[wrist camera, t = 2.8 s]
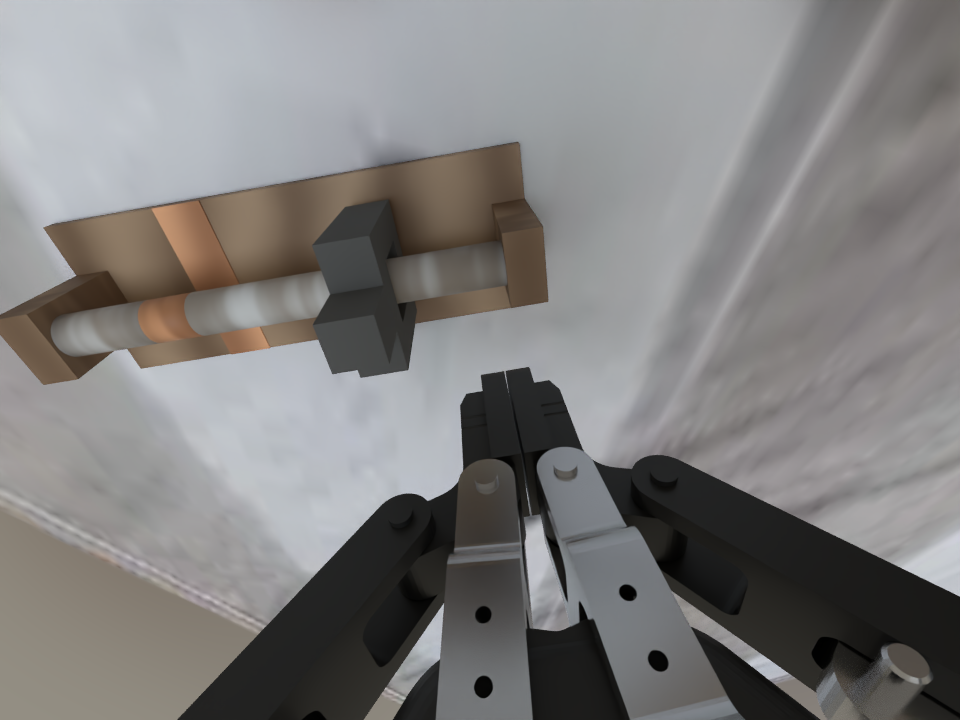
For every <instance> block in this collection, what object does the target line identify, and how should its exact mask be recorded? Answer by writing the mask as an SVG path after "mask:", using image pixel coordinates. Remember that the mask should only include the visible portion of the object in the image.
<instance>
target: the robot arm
mask: <svg viewBox="0 0 960 720" xmlns="http://www.w3.org/2000/svg"><path fill="white" fill-rule="evenodd" d="M506 377H507V383H506V379H505V374H504V371H503V372H496V373H490V374H484V375H481V380H482V388H483V391H481V392H475V393H469V394H466V396H465V398H464V400H463V401H462V403H461V405H460V410H461V428H462V449H463V472H462V473H461V475H460V478H459V481H458V483H457V484H456V485H455V486H454V487H453V488H452V489H451V490H449V491H448V492H446V493H444V494H443V495H440V496H438V497H436V498H434V499H432V500H429V501H427V500H426V499H425V498H423V497H422V496H419V495H417V494H401V495H398V496H395V497H393V498H391V499H389V500H388V501H386V502H385V503H384V504H382V505H381V506H380V507H379V508H378V509H377V510H376V512H375V513H374V514H373V515H372V516H371V517H370V518H369V519H368V520H367V521H366V522H365V523H364V524H363V525H362V526H361V527H360V528H359V529H358V530H357V532H356V533H355V534H354V535H353V536H352V537H351V538H350V539H349V540H348V541H347V542H346V543H345V544H344V545H343V546H342V547H341V548H340V549H339V550H338V551H337V553H336V554H335V555H334V556H333V557H332V558H331V559H330V560H329V561H328V562H327V563H326V564H325V565H324V566H323V567H322V568H321V569H320V570H319V571H318V572H317V574H316V575H315V576H314V577H313V578H312V579H311V580H310V581H309V582H308V583H307V584H306V585H305V586H304V587H303V588H302V589H301V590H300V591H299V592H298V593H297V595H296V596H295V597H294V598H293V599H292V600H291V601H290V602H289V603H288V604H287V605H286V606H285V607H284V608H283V609H282V610H281V611H280V612H279V613H278V614H277V616H276V617H275V618H274V619H273V620H272V621H271V622H270V623H269V624H268V625H267V626H266V627H265V628H264V629H263V630H262V631H261V632H260V633H259V634H258V635H257V637H256V638H255V639H254V640H253V641H252V642H251V643H250V644H249V645H248V646H247V647H246V648H245V649H244V650H243V651H242V652H241V654H239V656H237V658H236V659H235V660H234V661H233V662H232V663H231V664H230V665H229V666H228V667H227V668H226V669H225V670H224V671H223V672H222V673H221V674H220V675H219V677H218V678H217V679H216V680H215V681H214V682H213V683H212V684H211V685H210V686H209V687H208V688H207V689H206V690H205V691H204V692H203V693H202V694H201V695H200V696H199V697H198V699H197V700H196V701H195V702H194V703H193V704H192V705H191V706H190V707H189V708H188V709H187V710H186V711H185V712H184V713H183V714H182V715H181V716H180V717H179V718H178V720H364V718H365V717H366V715H367V714H368V712H369V711H370V709H371V708H372V707H373V705H374V704H375V702H376V701H377V699H378V698H379V696H380V695H381V693H382V692H383V691H384V689H385V688H386V686H387V685H388V683H389V682H390V680H391V679H392V677H393V676H394V675H395V673H396V672H397V670H398V669H399V667H400V666H401V664H402V663H403V661H404V660H405V659H406V657H407V656H408V654H409V653H410V651H411V650H412V648H413V647H414V646H415V644H416V643H417V641H418V640H419V638H420V637H421V635H422V634H423V632H424V631H425V630H426V628H427V627H428V625H429V624H430V622H431V621H432V619H433V618H434V616H435V615H436V614H437V612H438V611H439V609H440V608H441V606H442V605H443V603H444V613H443V627H442V641H441V654H440V660H439V661H438V662H436V663H435V664H434V665H433V666H431V667H430V668H429V669H428V670H427V671H426V673H425V674H424V675H423V676H422V677H421V678H420V679H419V680H418V682H417V683H416V684H415V686H414V687H413V688H412V690H411V691H410V693H409V694H408V696H407V697H406V699H405V701H404V702H403V704H402V706H401V707H400V709H399V711H398V712H397V714H396V716H395V717H394V719H393V720H820V719H819V718H818V717H816V716H815V715H814V714H812V713H811V712H809V711H808V710H807V709H806V708H804V707H803V706H802V705H801V704H799V703H798V702H797V701H796V700H794V699H793V698H792V697H790V696H789V695H788V694H786V693H785V692H784V691H783V690H781V689H780V688H779V687H777V686H776V685H775V684H773V683H772V682H771V681H770V680H768V679H767V678H766V677H764V676H763V675H762V674H761V673H759V672H758V671H757V670H755V669H754V668H753V667H751V666H750V665H749V664H748V663H746V662H745V661H744V660H742V659H741V658H740V657H738V656H737V655H736V654H735V653H733V652H732V651H731V650H729V649H728V648H727V647H725V646H724V645H723V644H721V643H720V642H718V641H717V640H715V639H713V638H712V637H710V636H709V635H707V634H705V633H703V632H701V631H699V630H697V629H695V628H693V627H690V625H689V623H688V621H687V619H686V617H685V615H684V614H683V612H682V610H681V608H680V606H679V604H678V602H677V600H676V599H675V597H674V595H673V593H672V591H673V592H674V593H676V594H677V595H678V596H680V597H681V598H683V599H684V600H686V601H687V602H688V603H690V604H691V605H693V606H694V607H695V608H697V609H698V610H700V611H701V612H703V613H704V614H705V615H707V616H708V617H710V618H711V619H713V620H714V621H715V622H717V623H718V624H720V625H721V626H722V627H724V628H725V629H727V630H728V631H730V632H731V633H732V634H734V635H735V636H737V637H738V638H740V639H741V640H742V641H744V642H745V643H747V644H748V645H749V646H751V647H752V648H754V649H755V650H757V651H758V652H759V653H761V654H762V655H764V656H765V657H767V658H768V659H769V660H771V661H772V662H774V663H775V664H776V665H778V666H779V667H781V668H782V669H784V670H785V671H786V672H788V673H789V674H791V675H792V676H793V677H795V678H796V679H798V680H799V681H801V682H802V683H803V684H805V685H806V686H808V687H809V688H811V689H812V690H813V691H815V692H816V693H817V698H818V701H819V704H820V707H821V709H822V711H823V713H824V715H825V717H826V718H827V720H960V597H959V596H957V595H955V594H953V593H951V592H949V591H947V590H945V589H943V588H941V587H939V586H937V585H935V584H933V583H931V582H929V581H927V580H924V579H922V578H920V577H918V576H916V575H914V574H912V573H910V572H908V571H906V570H904V569H902V568H900V567H898V566H896V565H894V564H892V563H890V562H887V561H885V560H883V559H881V558H879V557H877V556H875V555H873V554H871V553H869V552H867V551H865V550H863V549H861V548H859V547H857V546H855V545H853V544H850V543H848V542H846V541H844V540H842V539H840V538H838V537H836V536H834V535H832V534H830V533H828V532H826V531H824V530H822V529H820V528H818V527H816V526H813V525H811V524H809V523H807V522H805V521H803V520H801V519H799V518H797V517H795V516H793V515H791V514H789V513H787V512H785V511H783V510H781V509H779V508H776V507H774V506H772V505H770V504H768V503H766V502H764V501H762V500H760V499H758V498H756V497H754V496H752V495H750V494H748V493H746V492H744V491H742V490H739V489H737V488H735V487H733V486H731V485H729V484H727V483H725V482H723V481H721V480H719V479H717V478H715V477H713V476H711V475H709V474H707V473H705V472H702V471H700V470H698V469H696V468H694V467H692V466H690V465H688V464H686V463H684V462H682V461H680V460H678V459H675V458H672V457H669V456H664V455H652V456H647V457H644V458H642V459H640V460H639V461H638V462H636V463H635V465H634V466H633V468H632V469H625V468H615V467H609V466H605V465H602V464H599V463H597V462H595V461H594V460H592V459H591V457H590V456H589V455H588V454H586V453H585V452H584V451H583V449H582V446H581V444H580V441H579V439H578V436H577V433H576V431H575V428H574V426H573V423H572V420H571V418H570V415H569V413H568V410H567V407H566V405H565V403H564V399H563V397H562V394H561V392H560V389H559V388H557V387H556V386H555V385H554V384H553V383H552V382H550V381H549V380H548V381H542V382H536V383H534V381H533V378H532V374H531V371H530V368H529V367H526V368H520V369H514V370H508V371H506ZM507 384H508V388H507ZM508 391H509V393H508ZM525 483H526V485H525ZM526 488H527V492H526ZM527 493H528V497H529V502H530V507H531V512H532V515H538V514H540V515H541V519H542V524H543V529H544V538H545V543H546V546H547V550H548V553H549V556H550V559H551V562H552V566H553V569H554V572H555V575H556V579H557V582H558V585H559V588H560V591H561V595H562V598H563V601H564V604H565V608H566V611H567V615H568V619H569V624H570V627H568V628H566V629H564V630H561V631H547V630H539V629H533V622H532V613H531V602H530V591H529V580H528V570H527V559H526V548H525V539H526V530H525V523H524V517H527V516H530V514H529V507H528V499H527Z"/></svg>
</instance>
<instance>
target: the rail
mask: <svg viewBox="0 0 960 720" xmlns="http://www.w3.org/2000/svg"><path fill="white" fill-rule="evenodd" d="M387 199H389V203H390V207H391V211H392V215H393V219H394V223H395V226H396V230H397V234H398V238H399V242H400V246H401V250H402V254H403V257H397V258H391V259H386V265H387V268H388V272H389V275H390V279H391V283H392V286H393V290H394V293H395V297H396V300H397V304H399V303H405V302H411V301H415V304H416V308H417V314H416V321H415V323H421V322H427V321H433V320H439V319H445V318H451V317H457V316H463V315H469V314H475V313H481V312H488V311H494V310H500V309H506V308H513V307H519V306H525V305H532V304H538V303H544V302H548V289H547V275H546V262H545V248H544V235H543V226H542V224H541V223H540V221H539V220H538V218H537V217H536V215H535V214H534V212H533V211H532V209H531V208H530V206H529V205H528V203H527V202H526V200H525V199H524V188H523V177H522V167H521V156H520V145H519V143H518V142H514V143H508V144H503V145H497V146H491V147H486V148H480V149H475V150H469V151H463V152H458V153H452V154H446V155H441V156H435V157H429V158H424V159H418V160H412V161H407V162H401V163H395V164H390V165H384V166H378V167H373V168H367V169H362V170H356V171H350V172H345V173H339V174H333V175H328V176H322V177H316V178H311V179H305V180H299V181H294V182H288V183H282V184H277V185H271V186H265V187H260V188H254V189H248V190H243V191H237V192H232V193H226V194H220V195H215V196H209V197H203V198H198V199H192V200H186V201H181V202H175V203H169V204H164V205H158V206H152V207H147V208H141V209H135V210H130V211H124V212H119V213H113V214H107V215H102V216H96V217H90V218H85V219H79V220H73V221H68V222H62V223H56V224H52V225H49V226H47V227H44V230H45V231H46V232H47V234H48V235H49V237H50V238H51V240H52V241H53V243H54V244H55V245H56V247H57V248H58V250H59V251H60V253H61V254H62V256H63V257H64V258H65V260H66V261H67V263H68V264H69V266H70V267H71V268H72V270H73V271H74V273H75V274H76V276H75V277H73V278H71V279H69V280H67V281H66V282H64V283H62V284H60V285H58V286H56V287H54V288H52V289H50V290H48V291H46V292H44V293H42V294H40V295H38V296H36V297H34V298H32V299H30V300H28V301H26V302H24V303H22V304H21V305H19V306H17V307H15V308H13V309H11V310H9V311H7V312H5V313H3V314H1V315H0V335H1V336H2V337H3V339H4V340H5V341H6V342H7V343H8V344H9V346H10V347H11V348H12V349H13V350H14V351H15V352H16V354H17V355H18V356H19V357H20V358H21V359H22V361H23V362H24V363H25V364H26V365H27V366H28V368H29V369H30V370H31V371H32V372H33V373H34V375H35V376H36V377H37V378H38V379H39V380H40V381H41V383H42V384H43V385H46V384H52V383H58V382H64V381H70V380H76V379H79V378H80V377H82V376H83V375H84V374H85V373H87V372H88V371H89V370H90V369H92V368H93V367H94V366H95V365H97V364H98V363H99V362H101V361H102V360H103V359H104V358H106V357H107V356H108V355H109V354H111V353H112V352H113V351H116V350H122V349H128V351H129V352H130V353H131V355H132V356H133V358H134V359H135V361H136V362H137V364H138V365H139V366H140V368H148V367H154V366H160V365H166V364H172V363H178V362H184V361H190V360H196V359H202V358H208V357H214V356H220V355H226V354H236V353H243V352H249V351H255V350H261V349H267V348H270V347H275V346H281V345H287V344H293V343H299V342H305V341H311V340H318V338H317V335H316V333H315V330H314V328H313V323H314V321H315V320H316V318H317V316H318V314H319V313H320V311H321V309H322V307H323V306H324V304H325V302H326V300H327V299H328V297H329V295H330V293H329V291H328V288H327V285H326V282H325V280H324V277H323V274H322V272H321V269H320V266H319V264H318V261H317V258H316V255H315V253H314V250H313V247H312V245H313V244H314V242H315V241H316V240H317V239H318V238H319V237H320V235H321V234H322V233H323V232H324V231H325V230H326V228H327V227H328V226H329V225H330V224H331V223H332V222H333V220H334V219H335V218H336V217H337V216H338V215H339V213H340V212H341V211H342V210H343V209H344V208H345V207H347V206H353V205H359V204H364V203H370V202H376V201H382V200H387Z"/></svg>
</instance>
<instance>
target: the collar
mask: <svg viewBox="0 0 960 720" xmlns="http://www.w3.org/2000/svg"><path fill="white" fill-rule="evenodd" d="M312 247H313V250H314V253H315V255H316V258H317V261H318V264H319V266H320V269H321V272H322V274H323V277H324V280H325V282H326V285H327V288H328V291H329V293H330V295H329V297H328V299H327V300H326V302H325V304H324V306H323V307H322V309H321V311H320V313H319V314H318V316H317V318H316V320H315V321H314V323H313V328H314V330H315V333H316V335H317V338H318V340H319V342H320V345H321V347H322V350H323V352H324V355H325V357H326V360H327V362H328V364H329V367H330V369H331V372H332V374H336V373H342V372H348V371H355V370H358V372H359V375H360V377H361V378H362V377H368V376H374V375H381V374H387V373H393V372H399V371H405V370H408V369H409V362H410V355H411V348H412V341H413V335H414V328H415V321H416V314H417V308H416V304H415V301H411V302H405V303H399V304H397V300H396V297H395V293H394V290H393V286H392V283H391V279H390V275H389V272H388V268H387V265H386V259H391V258H397V257H403V254H402V250H401V246H400V242H399V238H398V234H397V230H396V226H395V223H394V219H393V215H392V211H391V207H390V203H389V199H387V200H382V201H376V202H370V203H364V204H359V205H353V206H347V207H345V208H344V209H343V210H342V211H341V212H340V213H339V215H338V216H337V217H336V218H335V219H334V220H333V222H332V223H331V224H330V225H329V226H328V227H327V228H326V230H325V231H324V232H323V233H322V234H321V235H320V237H319V238H318V239H317V240H316V241H315V242H314V244H313V245H312Z"/></svg>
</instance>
